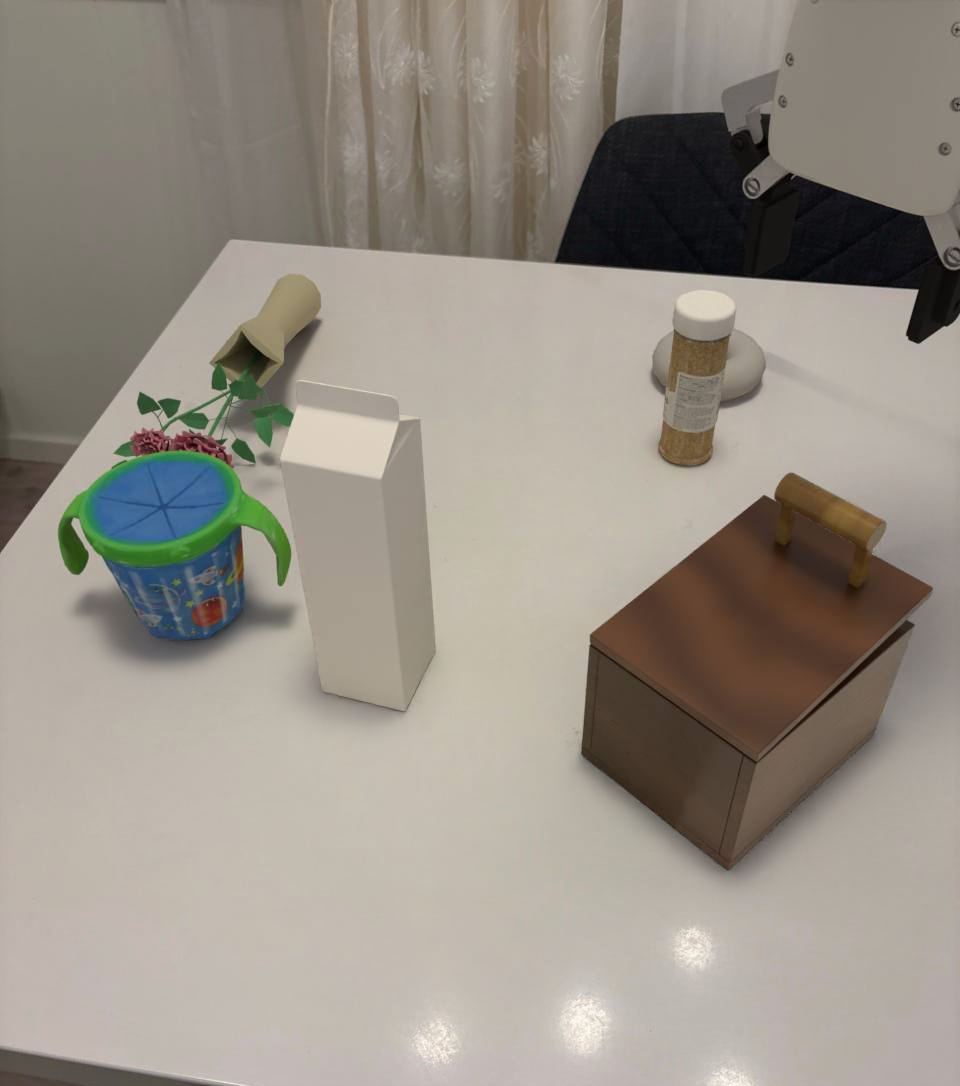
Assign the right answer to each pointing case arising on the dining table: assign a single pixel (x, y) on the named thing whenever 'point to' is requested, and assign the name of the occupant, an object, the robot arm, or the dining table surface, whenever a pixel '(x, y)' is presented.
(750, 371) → the donut
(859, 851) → the dining table surface
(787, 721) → the lid
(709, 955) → the dining table surface
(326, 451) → the milk
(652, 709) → the chest
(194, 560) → the snack cup
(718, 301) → the sprinkles bottle
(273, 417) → the flower vase
